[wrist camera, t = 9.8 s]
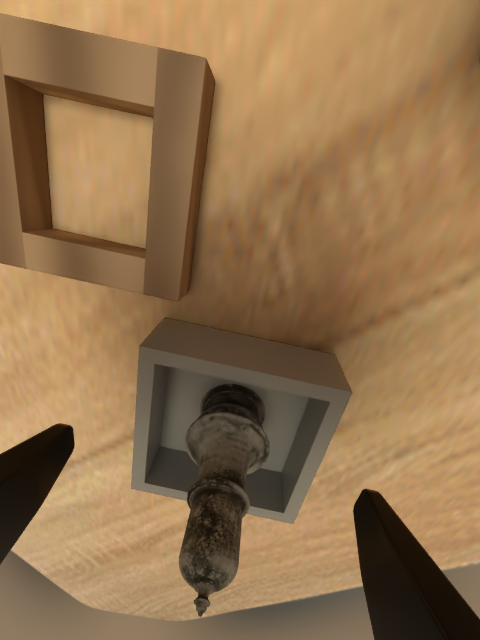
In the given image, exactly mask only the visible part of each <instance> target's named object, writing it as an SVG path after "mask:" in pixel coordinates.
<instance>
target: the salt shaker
mask: <svg viewBox="0 0 480 640" xmlns="http://www.w3.org/2000/svg"><path fill="white" fill-rule="evenodd" d="M200 414H201V415H200V416H199V417H198V419H197V420H196V421H194V422H193V423H192V424H191V425H190V427H189V429H188V430H187V432H186V437H185V446H186V450H187V452H188V454H189V456H190V458H191V459H192V460H193V461H194V462H195V463H196V464H197V465H198V466H199V467H200V468H199V472H198V476H197V481H196V483H195V484H194V485H192V486H191V488H190V489H189V491H188V494H187V503H188V505H189V507H190V509H191V511H190V515H189V519H188V523H187V527H186V531H185V535H184V539H183V543H182V547H181V552H180V556H179V567H180V571H181V574H182V576H183V578H184V579H185V581H186V582H187V583H188V584H189V585H190V586H191V587H193V588H194V589H195V591H196V592H198V597H197V598H196V599H195V600H194V604H195V605H196V610H197V612H198V615H199V617H201V616H202V614H203V613H204V612H205V611H206V609H207V607H209V606H210V602H209V600H208V596H209V595H210V594H212V593H214V592H217V591H220V590H222V589H223V588H225V587H227V586H228V585H229V584H230V583H231V582H232V580H233V579H234V578H235V575H236V573H237V569H238V564H239V550H240V537H241V523H242V518H243V517H244V516H245V515H246V514H247V513H248V510H249V508H250V500H249V497H248V495H247V493H246V492H245V487H246V475H247V474H250V473H253V472H254V471H256V470H257V469H259V468H260V467H261V466H262V465H263V464H264V463H265V462H266V460H267V458H268V455H269V447H270V443H269V440H268V437H267V435H266V433H265V432H264V430H263V427H262V424H263V421H264V418H265V407H264V404H263V401H262V400H261V398H260V397H259V396H258V395H257V394H256V393H255V392H254V391H252V390H251V389H249V388H247V387H245V386H241V385H237V384H224V385H219V386H216V387H214V388H212V389H210V390H209V391H208V392H207V393H206V394H205V395H204V397H203V399H202V400H201V404H200Z"/></svg>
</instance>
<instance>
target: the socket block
mask: <svg viewBox="0 0 480 640" xmlns="http://www.w3.org/2000/svg"><path fill="white" fill-rule="evenodd" d="M214 87H215V79H214V76H213V74H212V71H211V69H210V66H209V64H208V61H207V59H206V58H204V57H200V56H195V55H190V54H186V53H181V52H176V51H172V50H167V49H163V48H158V47H153V46H149V45H144V44H140V43H135V42H130V41H126V40H121V39H117V38H112V37H107V36H103V35H98V34H93V33H89V32H84V31H80V30H75V29H70V28H66V27H61V26H57V25H52V24H47V23H43V22H38V21H33V20H29V19H24V18H20V17H15V16H10V15H6V14H1V13H0V263H2V264H7V265H11V266H16V267H20V268H25V269H30V270H34V271H39V272H43V273H48V274H53V275H57V276H62V277H66V278H71V279H76V280H80V281H85V282H89V283H94V284H99V285H103V286H108V287H112V288H117V289H122V290H126V291H131V292H135V293H140V294H145V295H149V296H154V297H158V298H163V299H168V300H172V301H177V302H178V301H179V300H180V299H181V298H182V297H183V296H184V295H185V294H186V293H187V291H188V290H189V282H190V274H191V266H192V258H193V251H194V243H195V235H196V227H197V219H198V212H199V204H200V196H201V188H202V180H203V173H204V165H205V157H206V149H207V141H208V134H209V126H210V118H211V110H212V102H213V95H214ZM42 94H46V95H51V96H56V97H60V98H65V99H70V100H74V101H79V102H83V103H88V104H93V105H97V106H102V107H106V108H111V109H116V110H120V111H125V112H129V113H134V114H139V115H143V116H148V117H153V118H154V119H153V136H152V153H151V170H150V187H149V203H148V220H147V237H146V249H143V248H138V247H134V246H129V245H125V244H120V243H115V242H111V241H106V240H102V239H97V238H92V237H88V236H83V235H79V234H74V233H69V232H65V231H60V230H56V229H52V220H51V206H50V193H49V179H48V166H47V152H46V139H45V125H44V112H43V98H42Z"/></svg>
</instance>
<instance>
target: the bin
mask: <svg viewBox="0 0 480 640" xmlns="http://www.w3.org/2000/svg"><path fill="white" fill-rule="evenodd" d="M224 384H237V385H241V386H245V387H247V388H249V389H251V390H252V391H254V392H255V393H256V394H257V395H258V396H259V397H260V398H261V400H262V401H263V404H264V407H265V418H264V421H263V424H262V427H263V430H264V432H265V433H266V435H267V437H268V440H269V443H270V447H269V455H268V458H267V460H266V462H265V463H264V464H263V465H262V466H261V467H260V468H259V469H257V470H256V471H254V472H253V473H250V474H247V475H246V487H245V492H246V493H247V495H248V497H249V500H250V508H249V510H248V513H247V514H250V515H254V516H259V517H263V518H268V519H273V520H277V521H282V522H286V523H291V524H293V523H294V521H295V519H296V517H297V514H298V512H299V510H300V508H301V505H302V503H303V501H304V499H305V497H306V494H307V492H308V490H309V488H310V485H311V483H312V481H313V479H314V477H315V474H316V472H317V470H318V468H319V465H320V463H321V461H322V459H323V457H324V454H325V452H326V450H327V448H328V445H329V443H330V441H331V439H332V437H333V434H334V432H335V430H336V428H337V425H338V423H339V421H340V419H341V417H342V414H343V412H344V410H345V408H346V405H347V403H348V401H349V399H350V397H351V394H352V391H351V388H350V386H349V384H348V382H347V380H346V378H345V375H344V373H343V371H342V369H341V367H340V365H339V363H338V360H337V358H336V356H335V354H330V353H325V352H321V351H316V350H312V349H307V348H302V347H298V346H293V345H289V344H284V343H279V342H275V341H270V340H266V339H261V338H256V337H252V336H247V335H243V334H238V333H233V332H229V331H224V330H220V329H215V328H210V327H206V326H201V325H197V324H192V323H187V322H183V321H178V320H174V319H169V318H164V319H163V320H162V321H161V322H160V323H159V325H158V326H157V327H156V328H155V329H154V330H153V331H152V332H151V334H150V335H149V336H148V337H147V338H146V339H145V340H144V341H143V343H142V344H141V345H140V346H139V361H138V379H137V396H136V413H135V430H134V448H133V465H132V482H131V489H135V490H139V491H144V492H149V493H153V494H158V495H162V496H167V497H172V498H176V499H181V500H185V501H187V494H188V491H189V489H190V488H191V486H192V485H194V484H195V483H196V481H197V476H198V472H199V468H200V467H199V466H198V465H197V464H196V463H195V462H194V461H193V460H192V459H191V458H190V456H189V454H188V452H187V450H186V446H185V437H186V432H187V430H188V429H189V427H190V425H191V424H192V423H193V422H194V421H196V420H197V419H198V417H199V416H200V415H201V414H200V404H201V400H202V399H203V397H204V395H205V394H206V393H207V392H208V391H209V390H210V389H212V388H214V387H216V386H219V385H224Z"/></svg>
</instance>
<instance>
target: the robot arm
mask: <svg viewBox="0 0 480 640" xmlns="http://www.w3.org/2000/svg"><path fill="white" fill-rule="evenodd" d="M74 444H75V443H74V434H73V428H72V426H70V425H66V424H61V423H59V424H55V425H53V426H52V427H50V428H48V429H46V430H44V431H42V432H40V433H39V434H37V435H35V436H33V437H31V438H29V439H27V440H26V441H24V442H22V443H20V444H18V445H16V446H14V447H13V448H11V449H9V450H7V451H5V452H3V453H2V454H0V564H1V563H2V561H3V560H4V558H5V557H6V556H7V554H8V553H9V551H10V550H11V548H12V547H13V546H14V544H15V543H16V541H17V540H18V538H19V537H20V536H21V534H22V533H23V531H24V530H25V528H26V527H27V526H28V524H29V523H30V521H31V520H32V518H33V517H34V516H35V514H36V513H37V511H38V510H39V508H40V507H41V505H42V504H43V502H44V500H45V499H46V497H47V495H48V494H49V492H50V490H51V488H52V487H53V485H54V483H55V481H56V480H57V478H58V476H59V475H60V473H61V471H62V469H63V468H64V466H65V464H66V462H67V461H68V459H69V457H70V455H71V454H72V452H73V449H74ZM353 513H354V522H355V530H356V538H357V547H358V555H359V563H360V570H361V577H362V582H363V587H364V592H365V597H366V601H367V606H368V611H369V616H370V620H371V625H372V630H373V635H374V639H375V640H480V619H479V618H478V616H477V615H476V614H475V612H474V611H473V610H472V609H471V607H470V606H469V605H468V604H467V603H466V601H465V600H464V599H463V597H462V596H461V595H460V594H459V592H458V591H457V590H456V588H455V587H454V586H453V585H452V583H451V582H450V581H449V580H448V578H447V577H446V576H445V575H444V573H443V572H442V571H441V570H440V568H439V567H438V566H437V565H436V563H435V562H434V561H433V559H432V558H431V557H430V556H429V554H428V553H427V552H426V551H425V549H424V548H423V547H422V546H421V544H420V543H419V542H418V541H417V539H416V538H415V537H414V536H413V534H412V533H411V532H410V530H409V529H408V528H407V527H406V525H405V524H404V523H403V522H402V520H401V519H400V518H399V517H398V515H397V514H396V513H395V512H394V510H393V509H392V508H391V506H390V505H389V504H388V503H387V501H386V500H385V499H384V498H383V496H382V495H381V494H380V493H379V492H377V491H374V490H369V489H364V490H362V492H361V494H360V496H359V497H358V499H357V501H356V503H355V505H354V510H353Z"/></svg>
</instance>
